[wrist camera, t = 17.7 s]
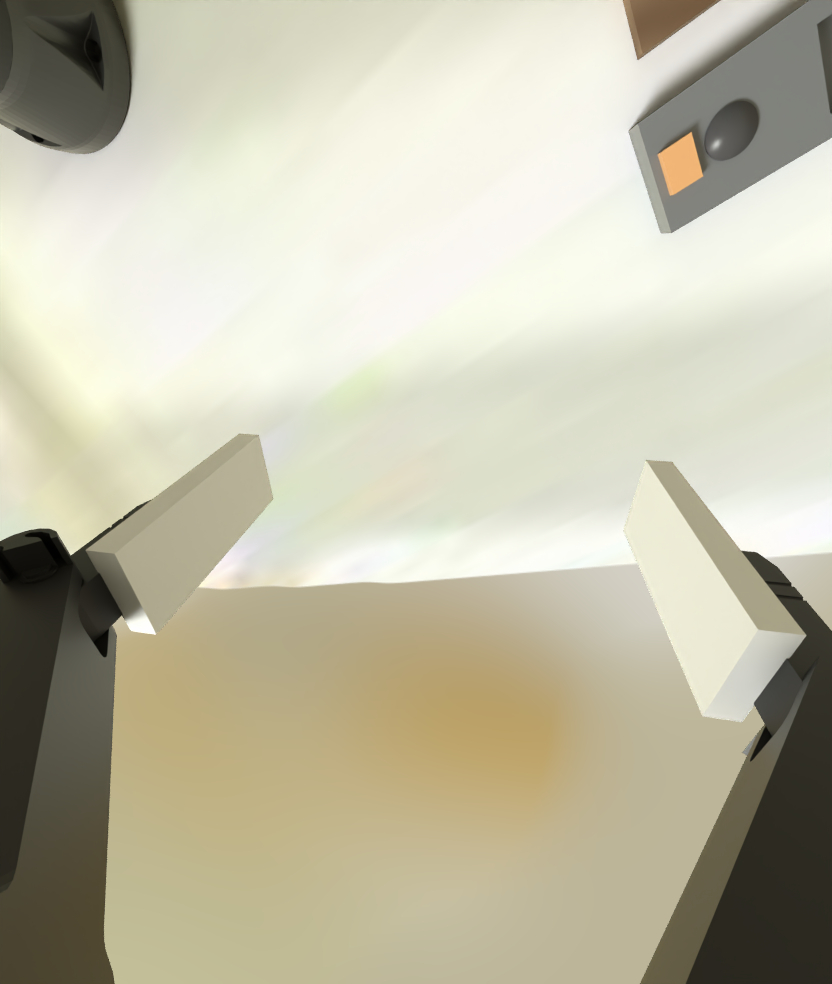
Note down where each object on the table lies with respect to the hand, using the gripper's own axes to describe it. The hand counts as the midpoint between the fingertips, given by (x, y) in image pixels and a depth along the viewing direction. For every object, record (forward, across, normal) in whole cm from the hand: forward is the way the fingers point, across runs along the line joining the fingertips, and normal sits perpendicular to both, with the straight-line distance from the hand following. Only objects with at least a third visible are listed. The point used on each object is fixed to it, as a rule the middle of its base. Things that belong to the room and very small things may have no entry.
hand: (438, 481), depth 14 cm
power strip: (+32, +20, +16) cm, 41 cm away
